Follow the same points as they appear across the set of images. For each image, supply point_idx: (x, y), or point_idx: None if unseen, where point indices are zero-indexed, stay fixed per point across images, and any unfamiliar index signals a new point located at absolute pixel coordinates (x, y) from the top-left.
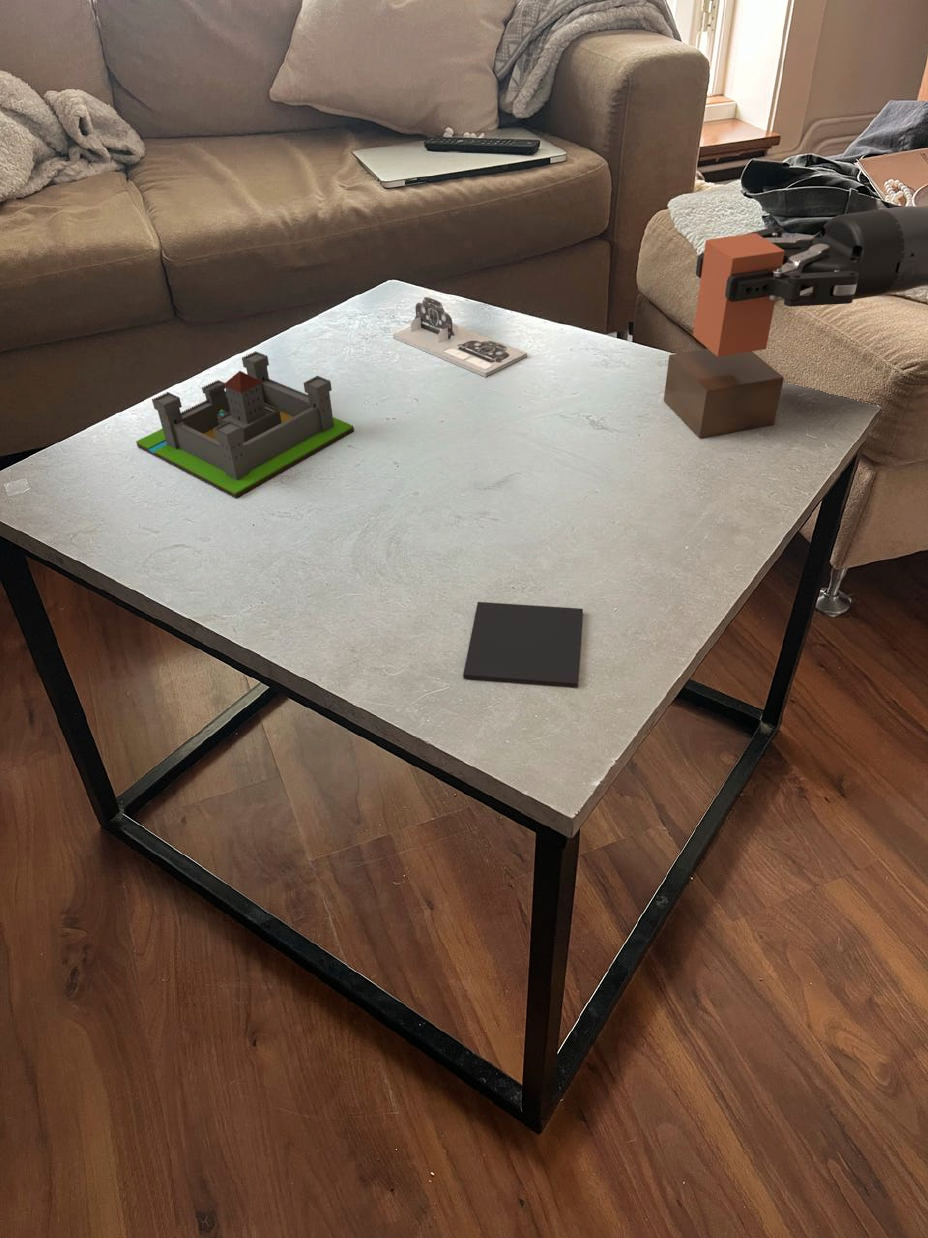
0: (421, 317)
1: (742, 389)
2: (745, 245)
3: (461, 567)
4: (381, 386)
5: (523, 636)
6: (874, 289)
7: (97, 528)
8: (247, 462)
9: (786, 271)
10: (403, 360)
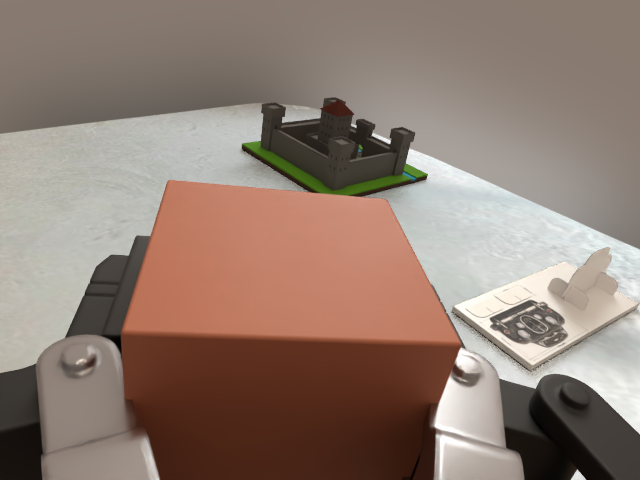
0: (599, 273)
1: None
2: (282, 247)
3: (38, 204)
4: (428, 235)
5: None
6: None
7: (236, 115)
8: (272, 143)
9: (38, 382)
10: (498, 260)
